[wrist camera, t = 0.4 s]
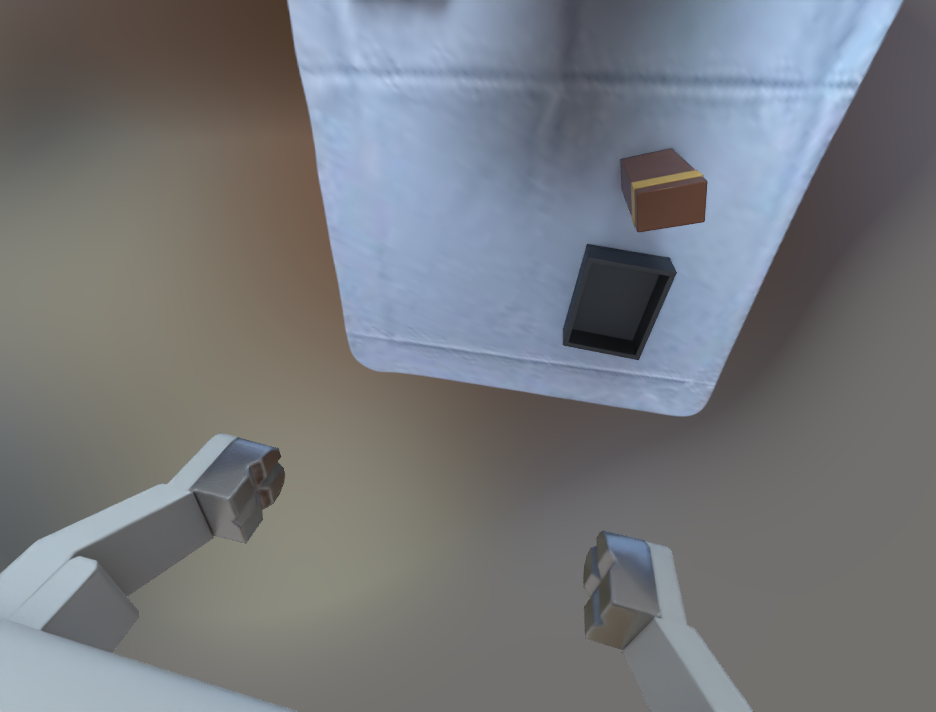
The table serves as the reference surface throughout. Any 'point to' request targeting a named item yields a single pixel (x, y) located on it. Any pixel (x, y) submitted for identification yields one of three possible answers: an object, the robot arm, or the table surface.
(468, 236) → the table surface
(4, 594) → the robot arm
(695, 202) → the chocolate box
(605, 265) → the tray
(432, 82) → the table surface
